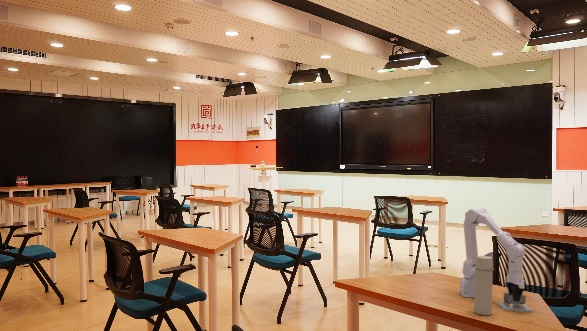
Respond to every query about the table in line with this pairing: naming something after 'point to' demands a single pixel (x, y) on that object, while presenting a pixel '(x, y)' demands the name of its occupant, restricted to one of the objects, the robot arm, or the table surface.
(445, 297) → the table surface
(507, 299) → the block
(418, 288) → the table surface
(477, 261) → the water bottle
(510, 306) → the grey mounting plate
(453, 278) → the table surface
